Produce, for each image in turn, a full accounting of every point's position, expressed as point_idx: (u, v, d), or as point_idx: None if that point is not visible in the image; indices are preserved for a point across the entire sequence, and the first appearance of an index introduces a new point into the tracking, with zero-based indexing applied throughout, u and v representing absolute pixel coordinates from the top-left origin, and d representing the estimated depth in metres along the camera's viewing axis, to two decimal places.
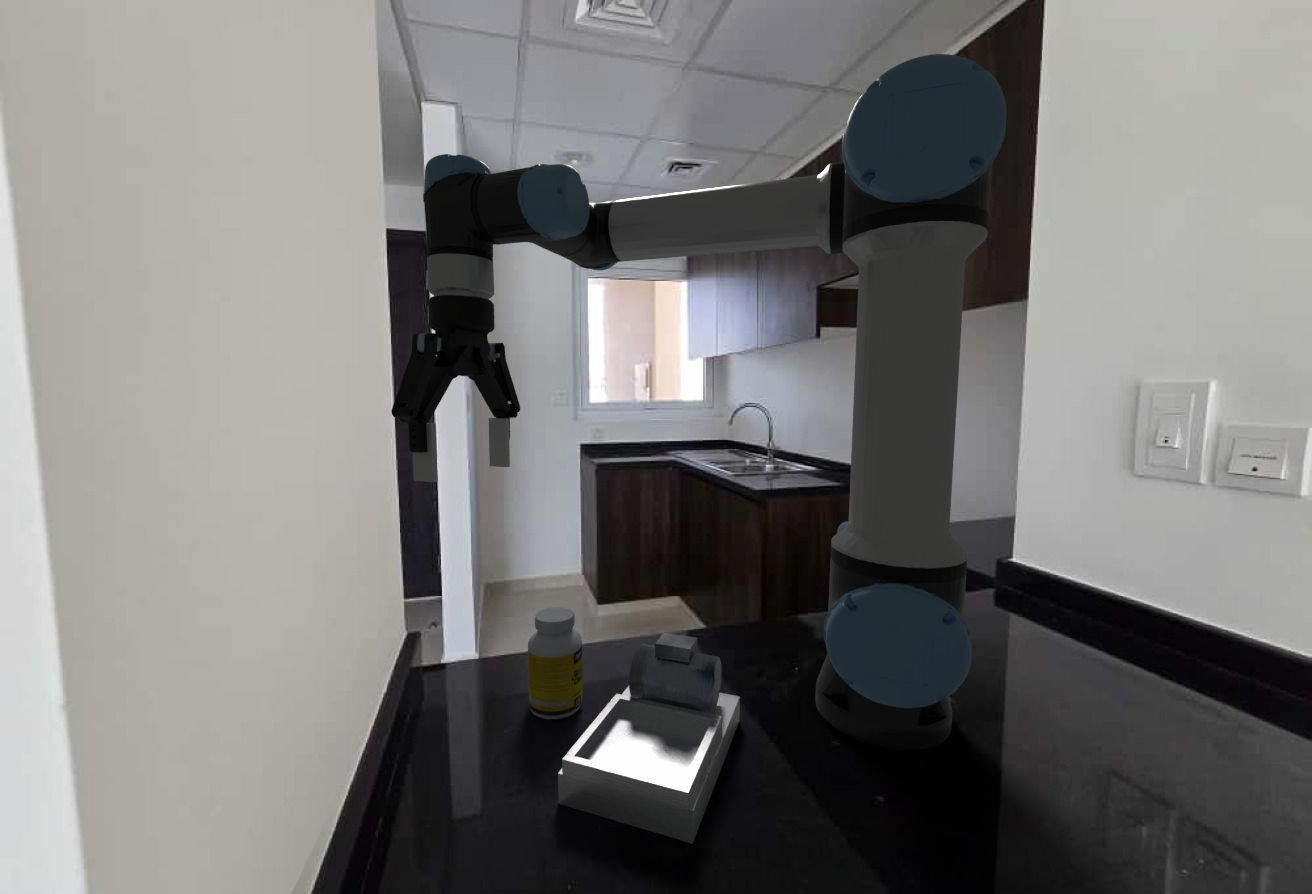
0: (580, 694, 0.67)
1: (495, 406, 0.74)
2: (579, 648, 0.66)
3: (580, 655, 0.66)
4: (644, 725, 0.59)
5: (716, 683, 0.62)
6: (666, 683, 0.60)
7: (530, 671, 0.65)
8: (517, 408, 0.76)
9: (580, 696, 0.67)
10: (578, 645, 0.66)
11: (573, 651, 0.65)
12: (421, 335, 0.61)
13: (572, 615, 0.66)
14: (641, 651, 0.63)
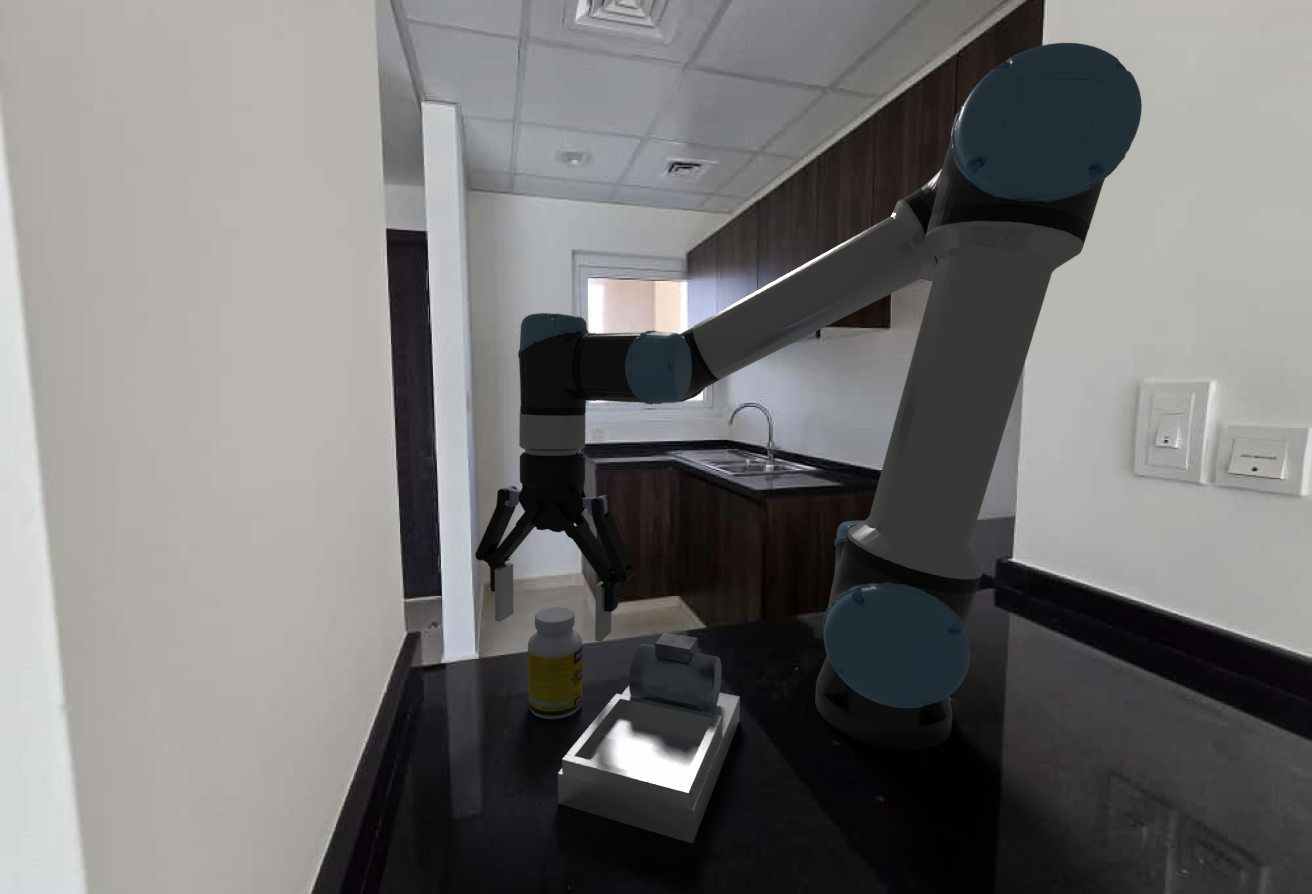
0: (580, 694, 0.67)
1: None
2: (579, 648, 0.66)
3: (580, 655, 0.66)
4: (644, 725, 0.59)
5: (716, 683, 0.62)
6: (666, 683, 0.60)
7: (530, 671, 0.65)
8: (619, 577, 0.62)
9: (580, 696, 0.67)
10: (577, 645, 0.66)
11: (573, 651, 0.65)
12: None
13: (572, 615, 0.66)
14: (641, 651, 0.63)
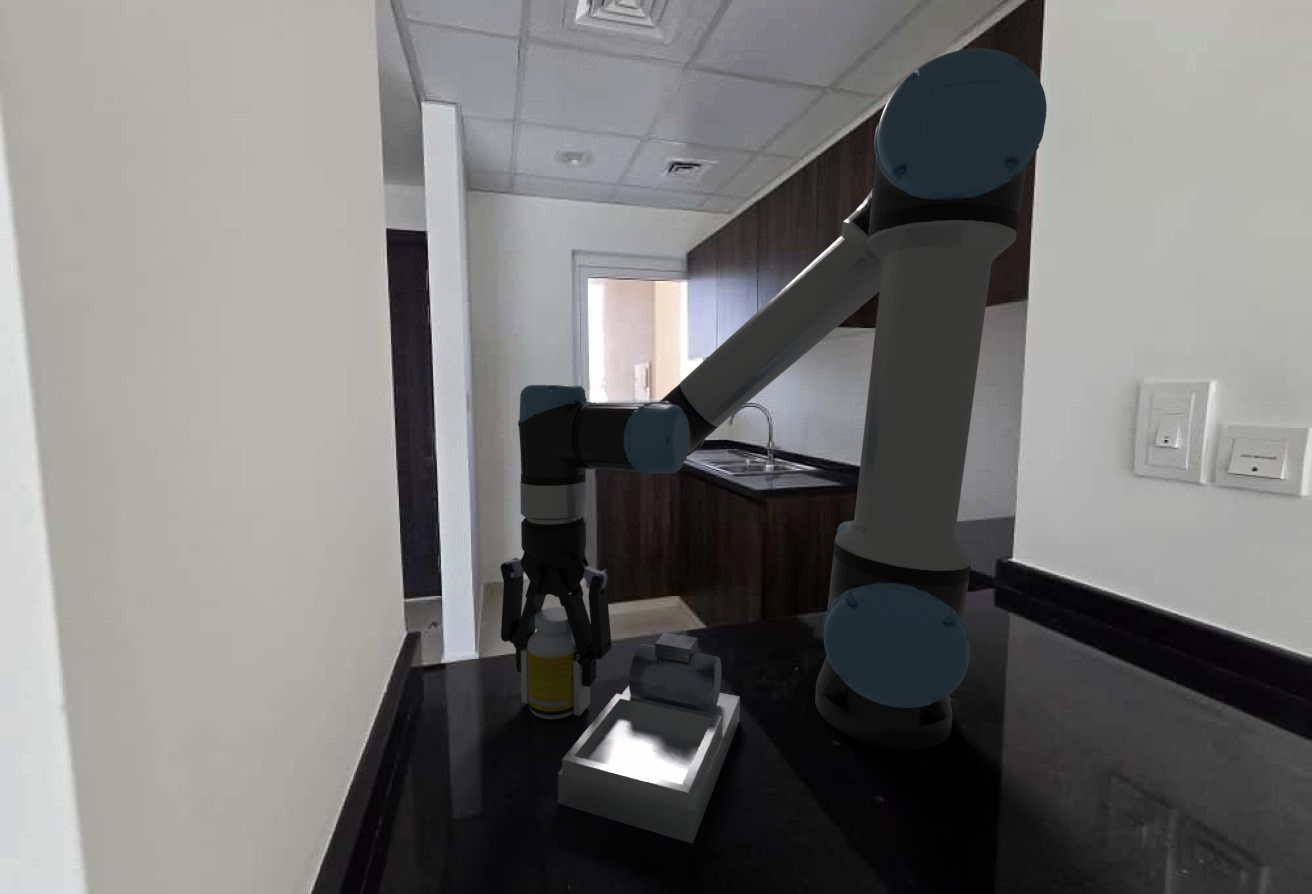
0: None
1: None
2: None
3: None
4: (644, 725, 0.59)
5: (716, 683, 0.62)
6: (666, 683, 0.60)
7: (530, 671, 0.65)
8: (596, 654, 0.64)
9: None
10: None
11: (573, 651, 0.65)
12: None
13: None
14: (641, 651, 0.63)
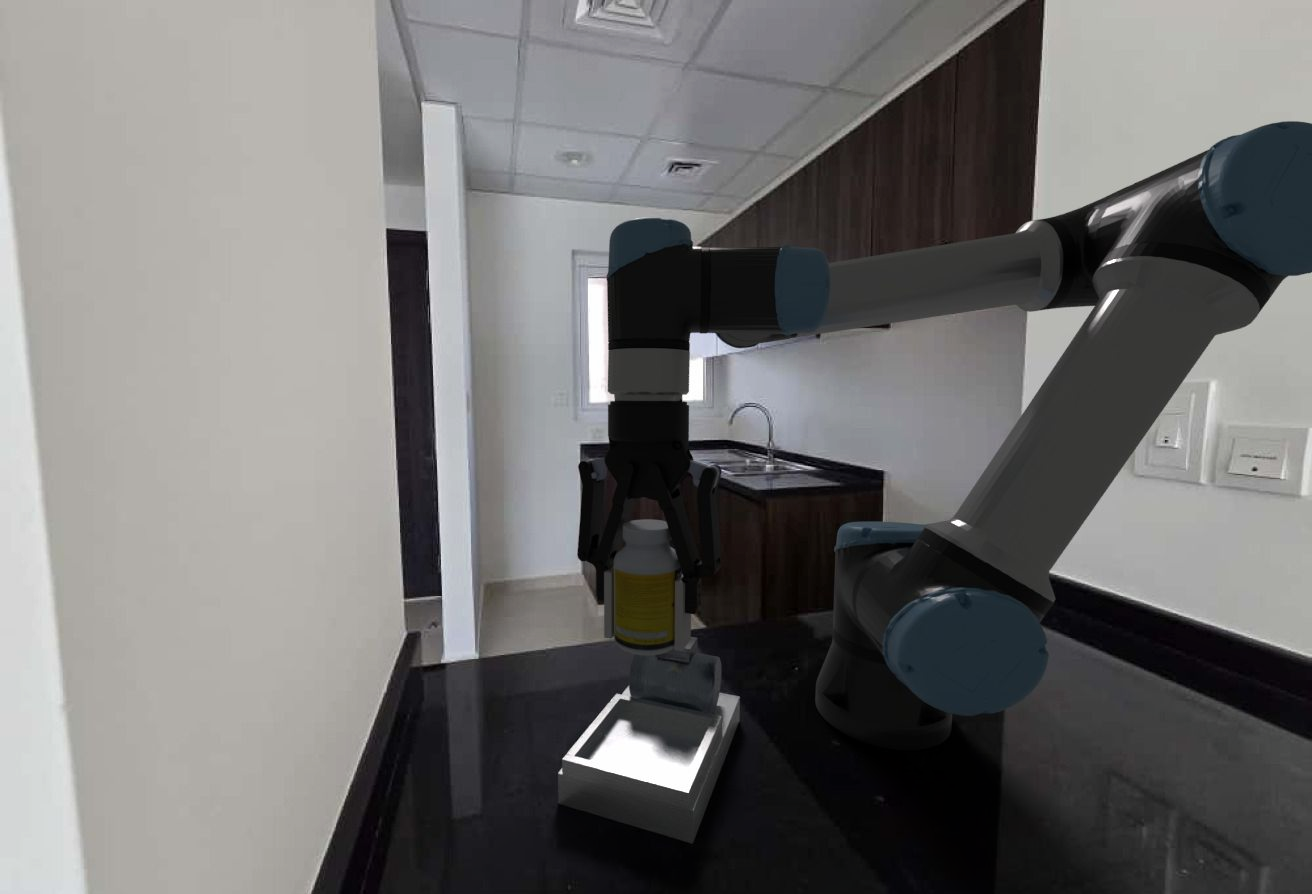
0: None
1: None
2: (679, 566, 0.52)
3: None
4: (644, 725, 0.59)
5: (716, 683, 0.62)
6: (666, 683, 0.60)
7: (619, 594, 0.51)
8: (706, 570, 0.50)
9: None
10: (678, 561, 0.52)
11: (674, 569, 0.51)
12: None
13: None
14: None
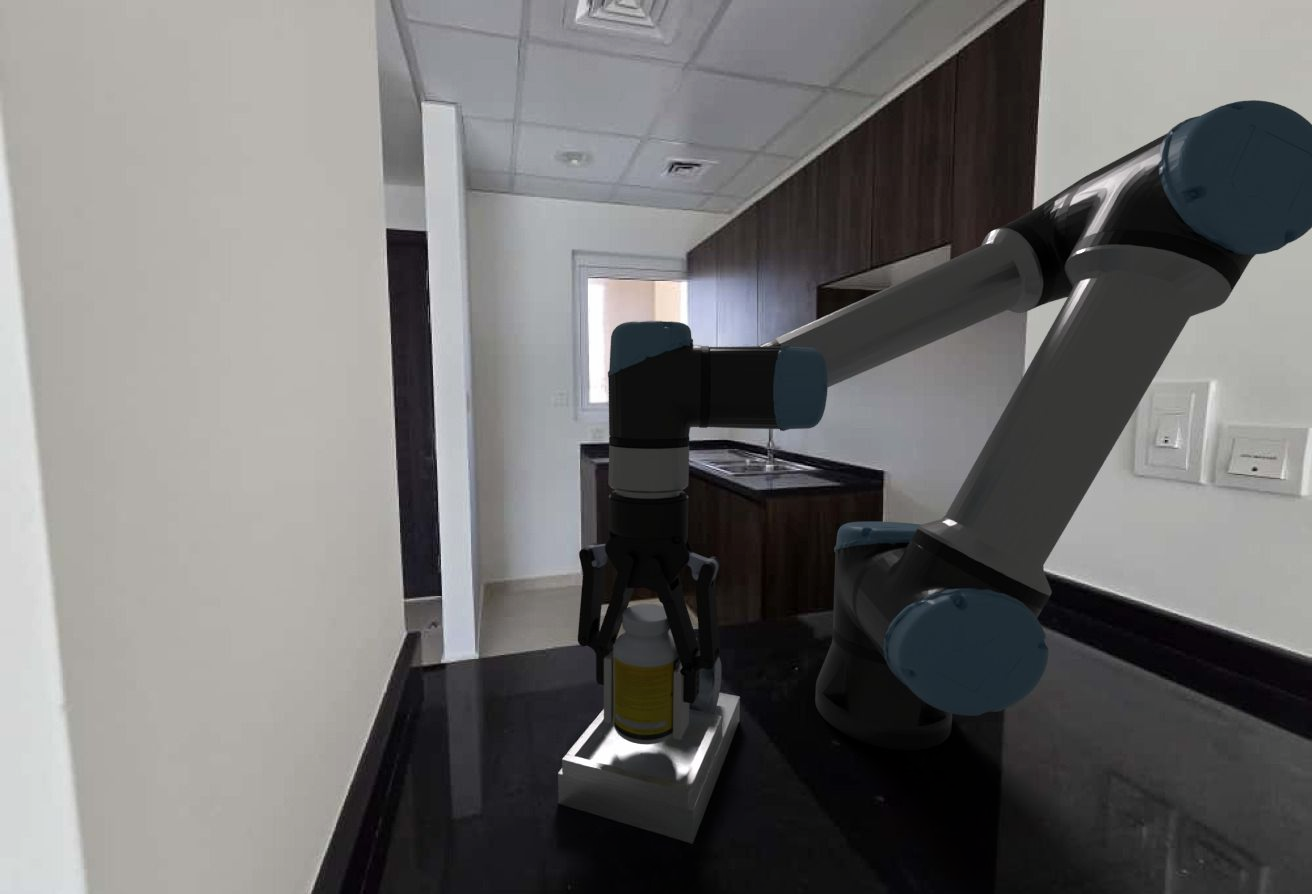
0: None
1: None
2: None
3: None
4: None
5: (716, 683, 0.62)
6: None
7: (618, 684, 0.52)
8: (704, 662, 0.51)
9: None
10: None
11: (673, 659, 0.52)
12: None
13: None
14: None
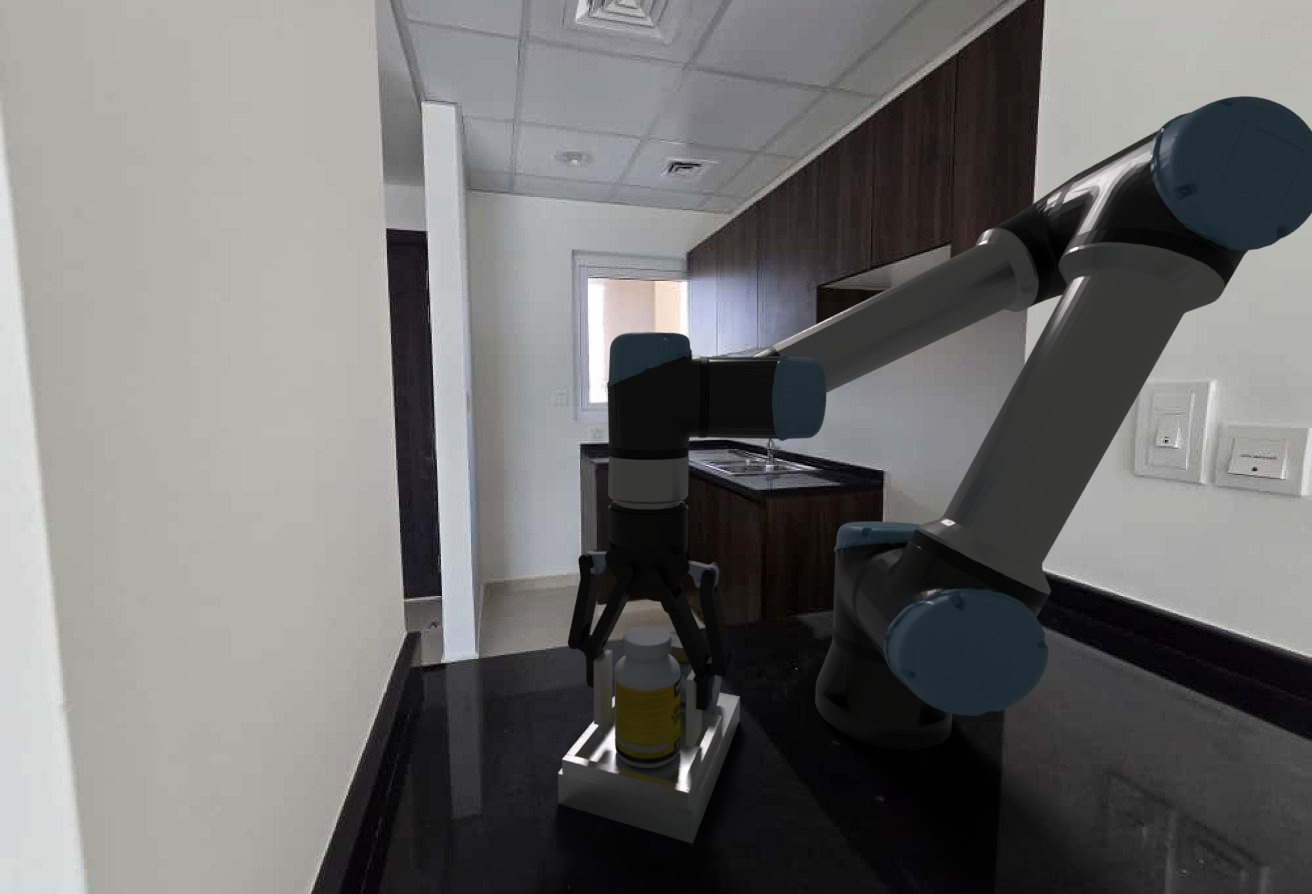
0: (679, 735, 0.54)
1: None
2: (679, 678, 0.53)
3: (679, 686, 0.54)
4: None
5: (716, 683, 0.62)
6: None
7: (619, 707, 0.52)
8: (717, 670, 0.50)
9: (679, 737, 0.54)
10: (677, 673, 0.53)
11: (674, 682, 0.52)
12: None
13: (669, 636, 0.54)
14: None
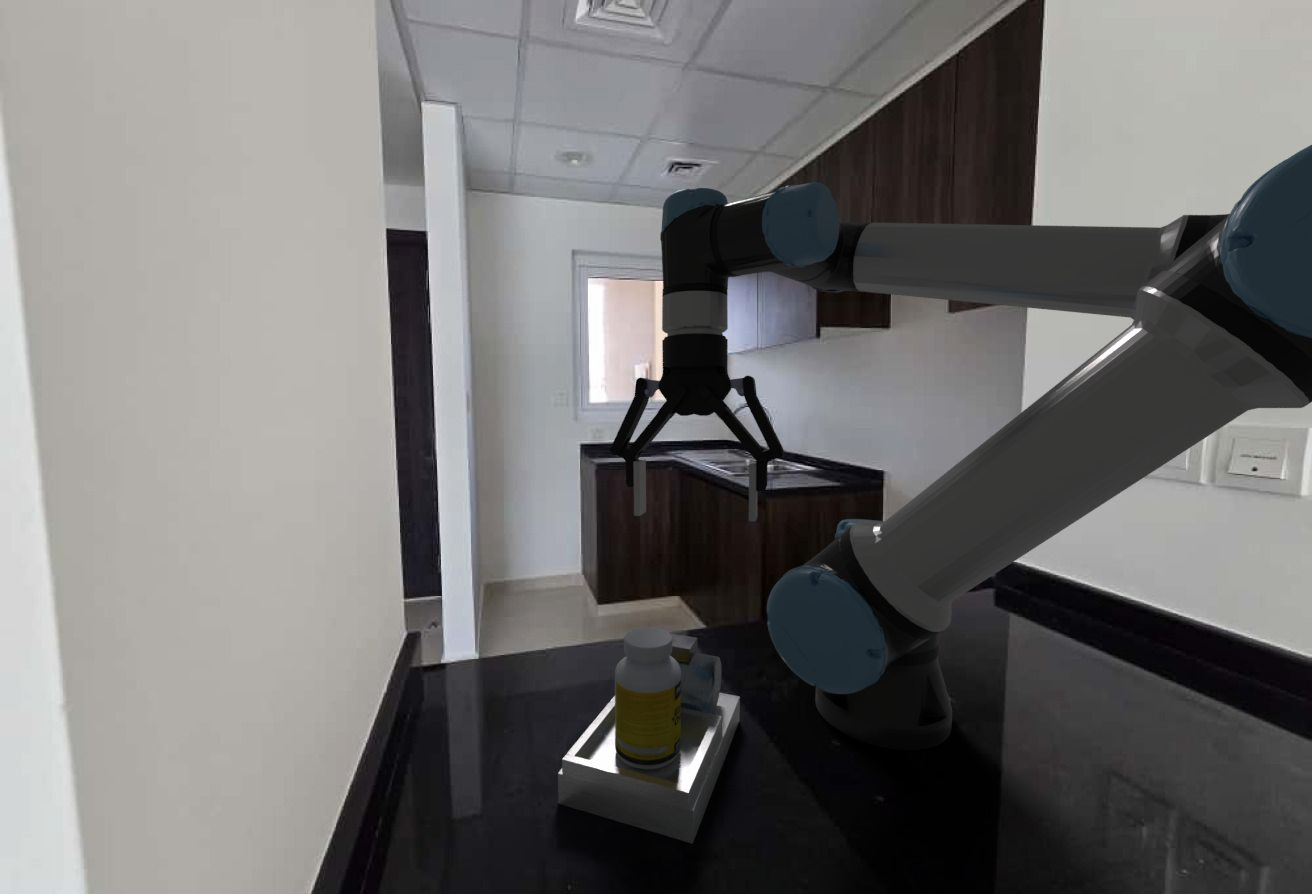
0: (679, 736, 0.54)
1: None
2: (679, 680, 0.53)
3: (680, 688, 0.53)
4: None
5: (716, 683, 0.62)
6: None
7: (620, 709, 0.52)
8: (775, 453, 0.62)
9: (679, 739, 0.54)
10: (678, 675, 0.53)
11: (674, 684, 0.52)
12: None
13: (670, 638, 0.53)
14: None
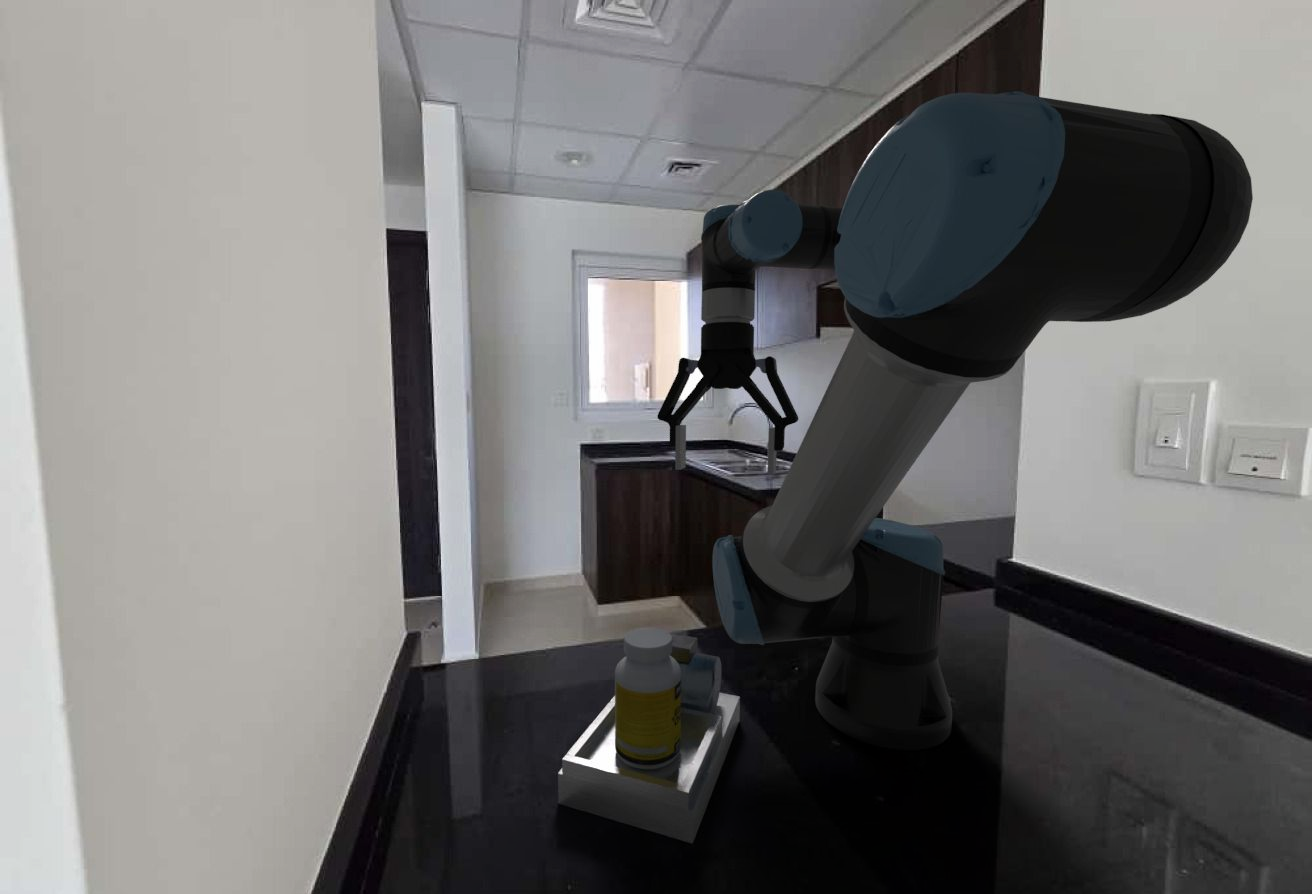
0: (679, 736, 0.54)
1: None
2: (679, 679, 0.53)
3: (680, 688, 0.53)
4: None
5: (716, 683, 0.62)
6: None
7: (620, 709, 0.52)
8: (790, 419, 0.76)
9: (679, 739, 0.54)
10: (678, 675, 0.53)
11: (674, 684, 0.52)
12: None
13: (670, 638, 0.53)
14: None
